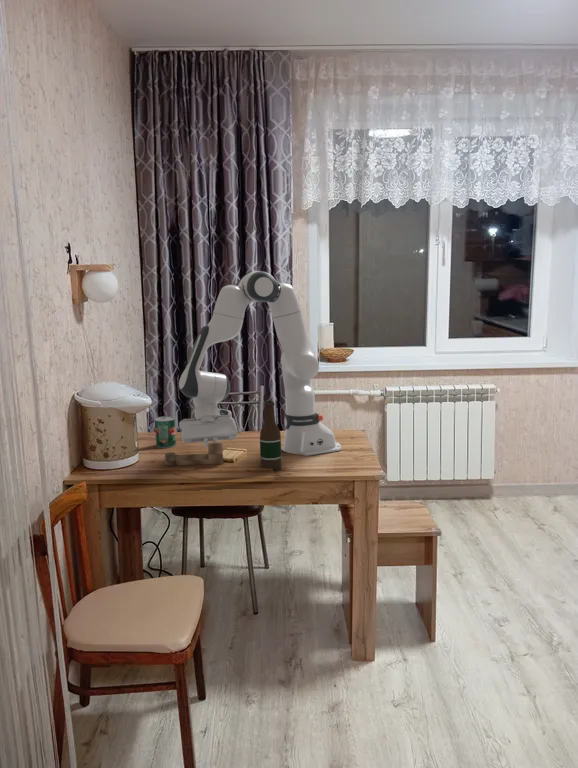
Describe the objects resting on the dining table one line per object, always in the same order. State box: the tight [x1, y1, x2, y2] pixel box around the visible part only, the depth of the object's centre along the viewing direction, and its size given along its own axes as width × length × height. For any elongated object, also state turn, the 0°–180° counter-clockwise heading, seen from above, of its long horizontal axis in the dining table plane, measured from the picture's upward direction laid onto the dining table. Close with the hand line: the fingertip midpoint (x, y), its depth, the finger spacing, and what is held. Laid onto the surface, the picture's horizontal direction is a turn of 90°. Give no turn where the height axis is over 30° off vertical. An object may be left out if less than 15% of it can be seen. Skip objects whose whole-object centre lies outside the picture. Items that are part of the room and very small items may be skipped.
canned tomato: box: [154, 415, 177, 449], centre depth 271 cm, size 8×8×11 cm
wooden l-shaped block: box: [164, 441, 224, 467], centre depth 243 cm, size 20×9×8 cm, turn 92°
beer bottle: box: [259, 400, 282, 473], centre depth 236 cm, size 8×8×24 cm
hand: (211, 450), depth 242 cm, fingers closed
